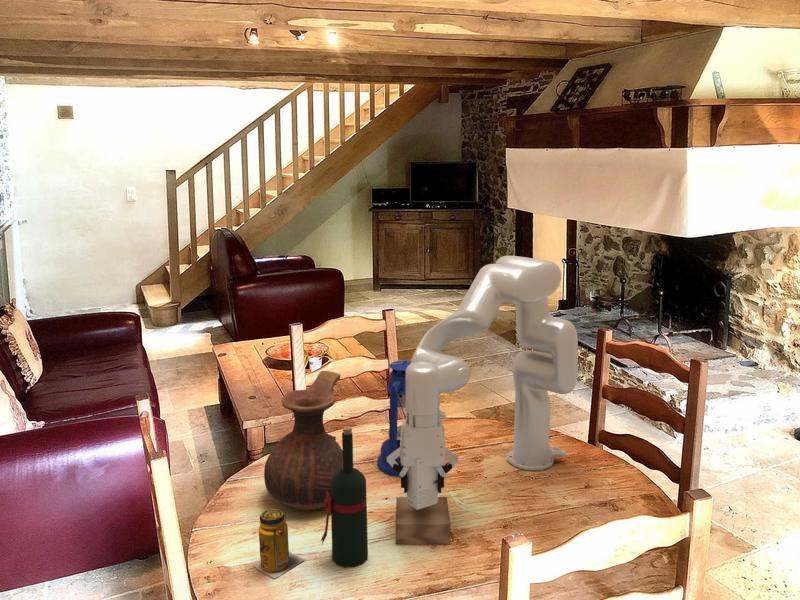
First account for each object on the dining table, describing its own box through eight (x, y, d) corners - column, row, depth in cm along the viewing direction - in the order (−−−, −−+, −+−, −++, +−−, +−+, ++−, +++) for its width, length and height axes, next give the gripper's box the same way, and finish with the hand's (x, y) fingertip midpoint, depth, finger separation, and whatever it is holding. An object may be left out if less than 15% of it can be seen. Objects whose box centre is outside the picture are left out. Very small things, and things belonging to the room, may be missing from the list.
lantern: (393, 447, 208) (392, 348, 201) (441, 456, 202) (442, 355, 195) (365, 472, 193) (363, 367, 186) (417, 483, 187) (417, 374, 180)
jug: (364, 509, 174) (362, 393, 167) (277, 528, 166) (271, 407, 159) (337, 471, 194) (334, 365, 187) (257, 486, 186) (251, 377, 179)
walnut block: (446, 515, 171) (446, 496, 170) (449, 544, 159) (450, 524, 158) (396, 516, 171) (396, 497, 170) (396, 544, 159) (395, 524, 158)
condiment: (252, 566, 152) (249, 515, 149) (282, 548, 158) (280, 499, 155) (274, 579, 147) (271, 527, 145) (305, 561, 154) (303, 510, 151)
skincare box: (417, 510, 160) (417, 461, 157) (405, 502, 164) (405, 453, 161) (439, 502, 163) (439, 454, 161) (427, 494, 167) (427, 446, 164)
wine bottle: (318, 551, 157) (314, 424, 150) (363, 544, 160) (361, 418, 153) (324, 572, 150) (320, 439, 143) (372, 564, 152) (370, 433, 145)
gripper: (460, 410, 162) (459, 482, 167) (383, 411, 162) (384, 482, 167) (463, 424, 155) (461, 498, 159) (383, 424, 155) (383, 498, 159)
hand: (422, 489), depth 163 cm, fingers closed on skincare box, 7 cm apart
